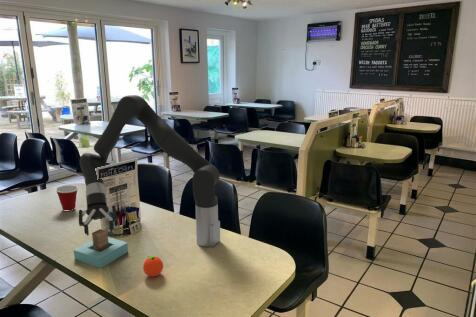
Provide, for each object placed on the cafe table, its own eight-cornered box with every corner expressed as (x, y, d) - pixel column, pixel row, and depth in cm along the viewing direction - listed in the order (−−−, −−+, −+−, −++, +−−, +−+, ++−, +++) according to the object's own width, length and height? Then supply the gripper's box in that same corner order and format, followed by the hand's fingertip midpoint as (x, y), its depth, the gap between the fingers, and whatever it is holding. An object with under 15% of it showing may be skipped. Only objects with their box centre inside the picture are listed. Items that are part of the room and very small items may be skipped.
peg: (109, 254, 141) (107, 231, 138) (101, 258, 137) (99, 235, 135) (102, 251, 142) (100, 229, 140) (94, 256, 139) (91, 233, 137)
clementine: (139, 272, 128) (138, 254, 126) (157, 266, 132) (156, 249, 130) (148, 283, 122) (147, 264, 120) (166, 276, 126) (166, 258, 124)
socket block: (127, 251, 143) (127, 242, 142) (100, 268, 131) (99, 258, 130) (103, 243, 149) (102, 235, 148) (74, 259, 137) (73, 249, 136)
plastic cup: (75, 213, 181) (72, 191, 178) (54, 213, 181) (51, 191, 178) (84, 205, 191) (81, 184, 188) (64, 205, 191) (61, 184, 188)
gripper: (76, 194, 140) (78, 232, 132) (114, 189, 145) (118, 226, 138) (78, 202, 146) (80, 239, 139) (114, 197, 151) (118, 233, 144)
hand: (99, 232), depth 138 cm, fingers open, 8 cm apart
